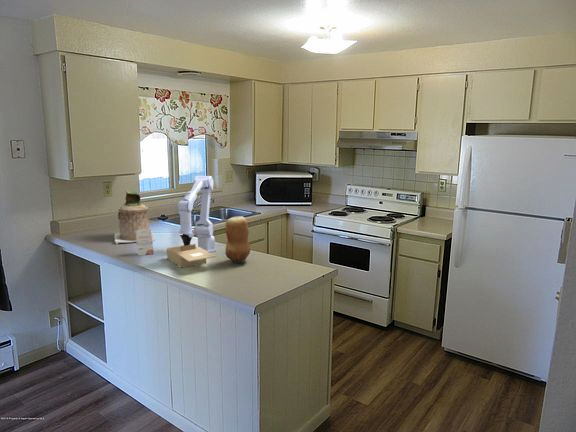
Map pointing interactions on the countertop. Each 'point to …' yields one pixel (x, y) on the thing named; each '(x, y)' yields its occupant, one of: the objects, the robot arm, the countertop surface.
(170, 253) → the mailer box
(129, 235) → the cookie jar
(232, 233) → the butternut squash
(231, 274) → the countertop surface
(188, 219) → the robot arm
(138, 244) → the ink cartridge box
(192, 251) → the mailer lid
